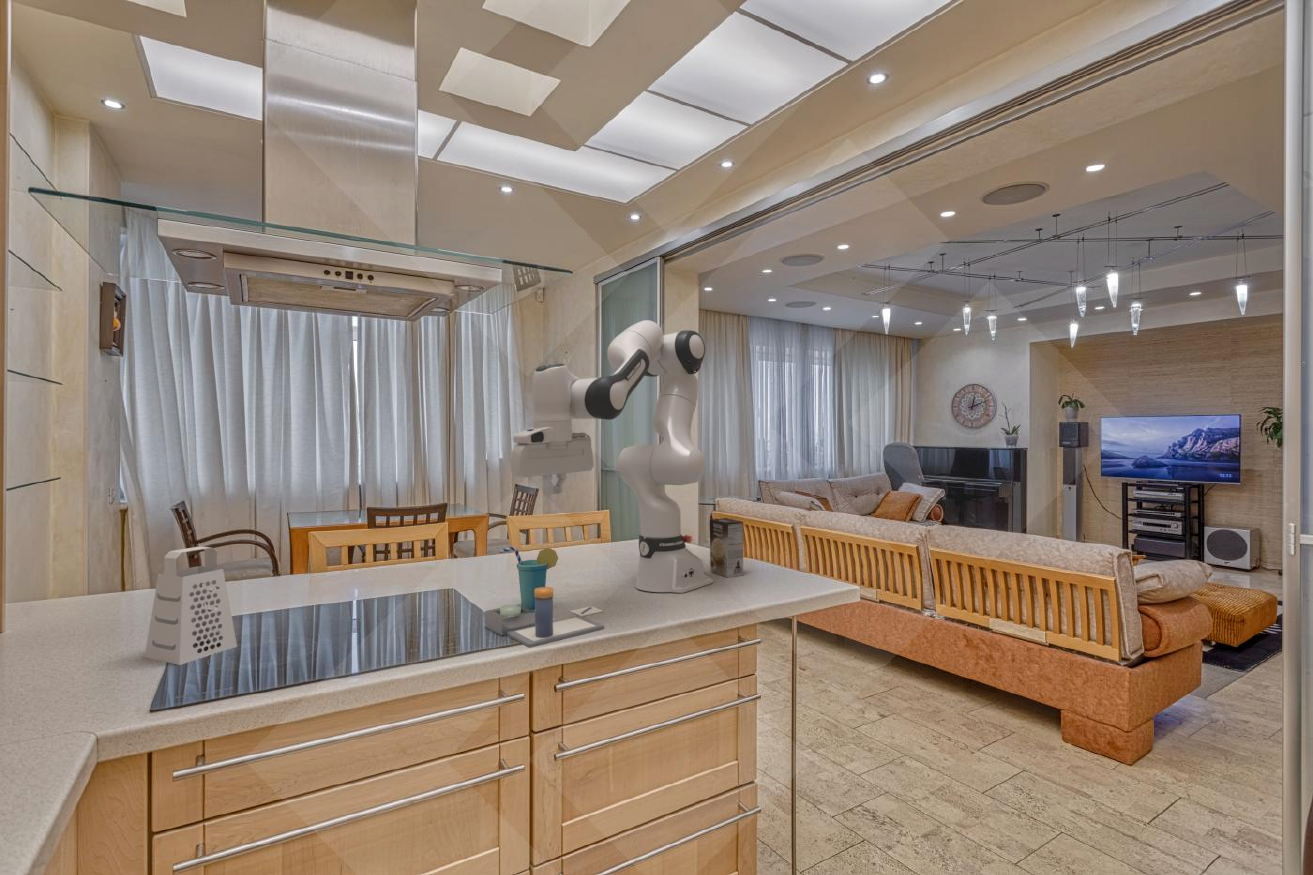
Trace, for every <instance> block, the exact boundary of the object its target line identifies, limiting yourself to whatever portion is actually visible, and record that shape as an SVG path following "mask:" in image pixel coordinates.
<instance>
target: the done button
mask: <svg viewBox="0 0 1313 875" xmlns="http://www.w3.org/2000/svg"><path fill="white" fill-rule="evenodd" d="M499 608H500V614H501V615H503V616H509V615H514V614H519V613H521V607H520V606H518V604H507V605H503V606H500V607H499Z"/></svg>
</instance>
